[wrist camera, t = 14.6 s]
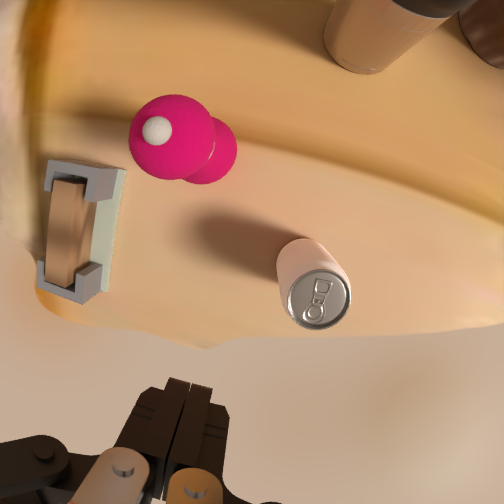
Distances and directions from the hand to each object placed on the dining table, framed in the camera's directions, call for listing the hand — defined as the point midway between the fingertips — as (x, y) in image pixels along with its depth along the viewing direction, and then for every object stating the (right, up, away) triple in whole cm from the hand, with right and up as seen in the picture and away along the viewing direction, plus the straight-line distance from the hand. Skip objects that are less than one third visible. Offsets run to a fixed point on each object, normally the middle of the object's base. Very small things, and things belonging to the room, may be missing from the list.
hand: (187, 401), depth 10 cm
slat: (-19, +8, +27) cm, 34 cm away
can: (+8, +4, +29) cm, 30 cm away
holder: (-19, +9, +28) cm, 35 cm away
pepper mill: (-3, +17, +26) cm, 31 cm away
